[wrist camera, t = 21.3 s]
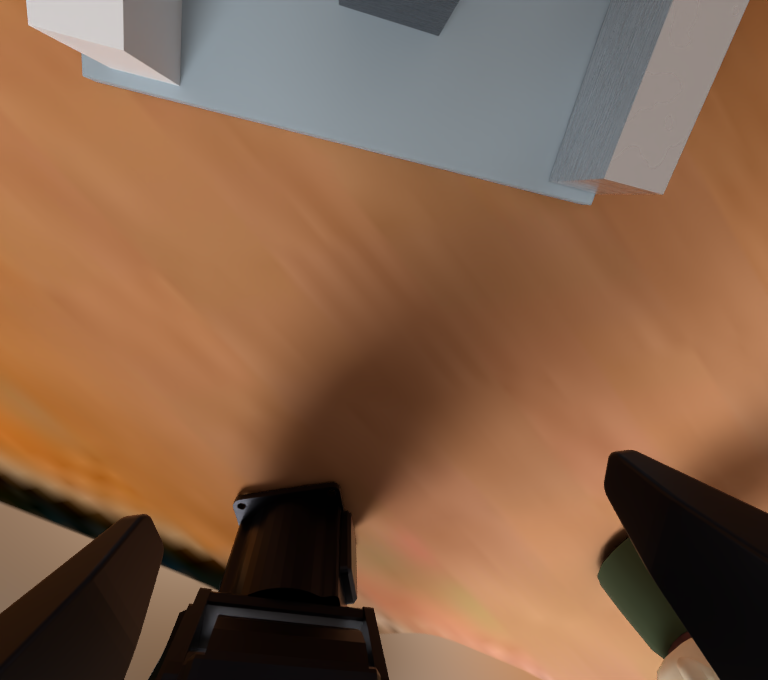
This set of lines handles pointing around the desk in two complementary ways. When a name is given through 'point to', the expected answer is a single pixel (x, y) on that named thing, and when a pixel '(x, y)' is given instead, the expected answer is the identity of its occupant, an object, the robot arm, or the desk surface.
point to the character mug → (652, 615)
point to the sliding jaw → (644, 93)
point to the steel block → (408, 12)
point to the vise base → (357, 73)
